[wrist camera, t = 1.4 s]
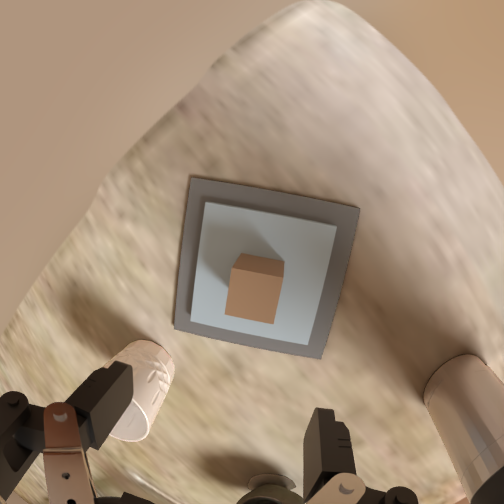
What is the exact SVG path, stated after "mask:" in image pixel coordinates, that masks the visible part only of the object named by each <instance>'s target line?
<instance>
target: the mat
mask: <svg viewBox="0 0 504 504" xmlns="http://www.w3.org/2000/svg"><path fill="white" fill-rule="evenodd" d="M205 202H214V203H220V204H226V205H232V206H237V207H243V208H249V209H254V210H260V211H265V212H270V213H276V214H281V215H286V216H291V217H296V218H302V219H307V220H312V221H317V222H321V223H326V224H331V225H336V226H337V229H336V234H335V238H334V243H333V247H332V252H331V256H330V260H329V265H328V269H327V273H326V277H325V281H324V285H323V289H322V293H321V297H320V301H319V305H318V309H317V313H316V316H315V320H314V324H313V328H312V331H311V335H310V338H309V342H308V345H304V344H298V343H293V342H287V341H282V340H276V339H271V338H266V337H261V336H256V335H251V334H246V333H241V332H236V331H232V330H227V329H223V328H218V327H214V326H209V325H205V324H201V323H196V322H192V321H190V320H191V311H192V302H193V293H194V284H195V276H196V268H197V260H198V252H199V244H200V237H201V230H202V223H203V216H204V209H205ZM359 212H360V208H356V207H351V206H347V205H342V204H338V203H333V202H328V201H324V200H319V199H314V198H309V197H304V196H299V195H294V194H289V193H283V192H278V191H273V190H267V189H261V188H256V187H250V186H244V185H238V184H232V183H226V182H220V181H213V180H207V179H200V178H193V177H191V182H190V189H189V196H188V203H187V210H186V218H185V225H184V233H183V241H182V250H181V258H180V268H179V277H178V287H177V298H176V309H175V321H174V329H176V330H180V331H183V332H187V333H192V334H196V335H200V336H204V337H208V338H212V339H217V340H221V341H226V342H230V343H235V344H240V345H244V346H249V347H254V348H259V349H264V350H269V351H275V352H280V353H286V354H291V355H297V356H303V357H309V358H315V359H321V357H322V354H323V351H324V348H325V345H326V341H327V338H328V335H329V331H330V328H331V325H332V321H333V318H334V314H335V311H336V307H337V304H338V300H339V296H340V292H341V289H342V285H343V281H344V277H345V273H346V269H347V265H348V261H349V257H350V253H351V249H352V244H353V240H354V236H355V231H356V227H357V222H358V217H359Z"/></svg>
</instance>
